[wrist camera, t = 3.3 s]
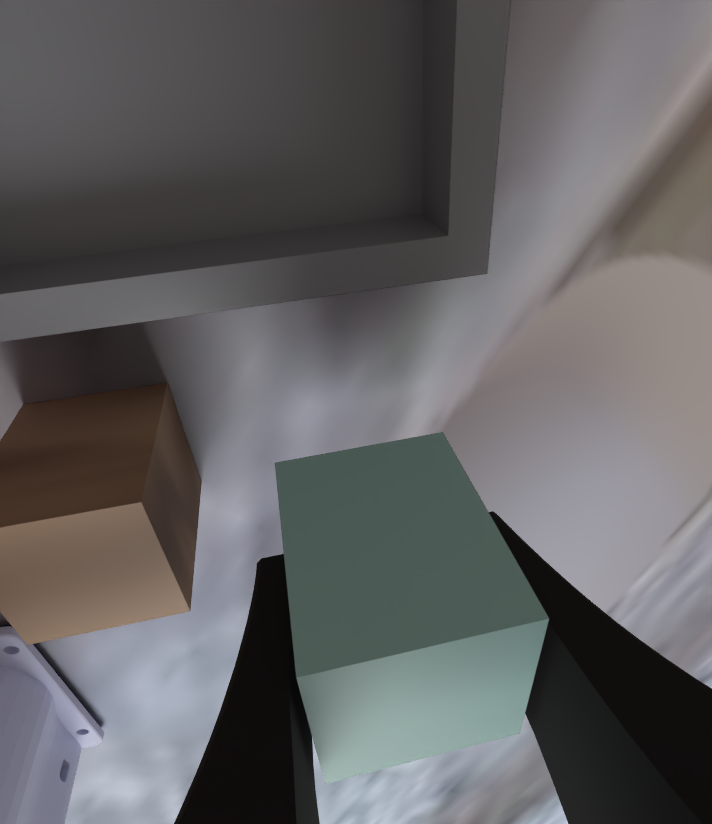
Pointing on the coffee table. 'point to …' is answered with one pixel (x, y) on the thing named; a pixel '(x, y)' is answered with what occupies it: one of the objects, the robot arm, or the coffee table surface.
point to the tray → (240, 153)
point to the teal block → (402, 606)
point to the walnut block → (96, 513)
